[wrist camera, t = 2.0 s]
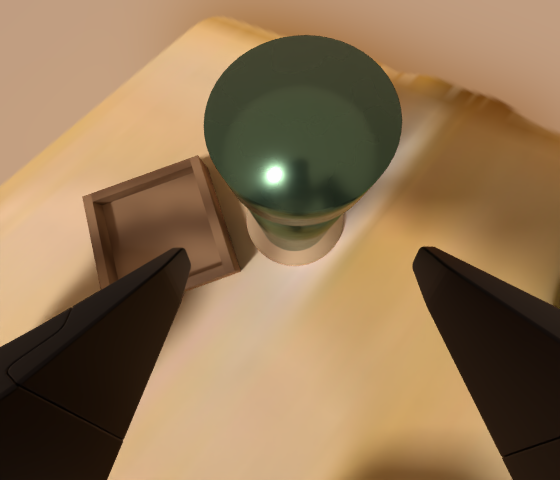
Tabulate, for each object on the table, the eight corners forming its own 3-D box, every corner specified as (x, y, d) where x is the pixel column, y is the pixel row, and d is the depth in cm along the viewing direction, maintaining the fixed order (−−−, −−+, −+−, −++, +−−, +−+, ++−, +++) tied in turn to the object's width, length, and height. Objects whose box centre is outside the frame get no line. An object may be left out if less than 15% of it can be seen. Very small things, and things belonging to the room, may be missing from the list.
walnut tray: (240, 271, 19) (234, 271, 17) (127, 312, 19) (106, 317, 17) (207, 167, 21) (197, 155, 19) (103, 204, 21) (82, 196, 19)
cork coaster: (357, 197, 20) (359, 195, 19) (316, 283, 19) (317, 283, 18) (274, 160, 21) (273, 157, 21) (230, 239, 20) (229, 238, 19)
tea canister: (342, 201, 19) (432, 73, 7) (311, 265, 19) (351, 247, 6) (278, 171, 20) (259, 12, 8) (245, 232, 19) (167, 159, 7)
